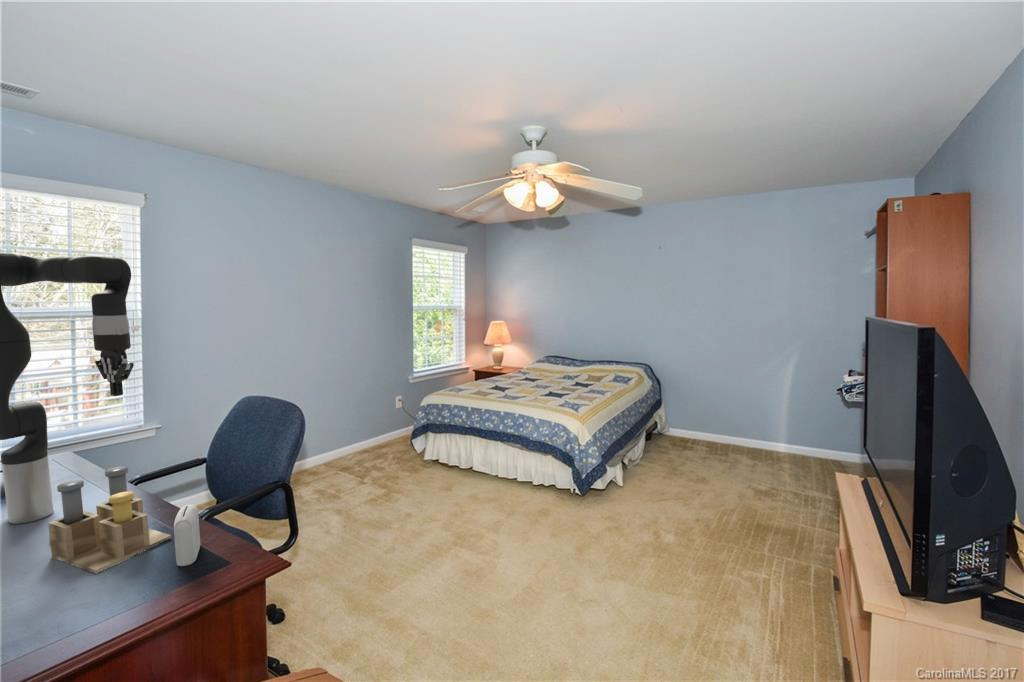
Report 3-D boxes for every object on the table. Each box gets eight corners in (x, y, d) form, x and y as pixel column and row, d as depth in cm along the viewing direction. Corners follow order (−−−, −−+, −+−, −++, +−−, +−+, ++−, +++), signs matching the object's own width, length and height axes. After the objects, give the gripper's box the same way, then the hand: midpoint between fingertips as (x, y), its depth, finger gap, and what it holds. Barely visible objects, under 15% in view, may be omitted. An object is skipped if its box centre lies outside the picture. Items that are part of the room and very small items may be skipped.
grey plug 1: (56, 525, 117) (52, 486, 116) (80, 516, 122) (76, 478, 121) (68, 529, 116) (64, 489, 114) (91, 520, 120) (87, 482, 119)
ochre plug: (107, 536, 118) (104, 497, 117) (129, 527, 123) (125, 490, 122) (119, 540, 117) (116, 501, 116) (141, 531, 121) (137, 493, 120)
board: (51, 557, 118) (48, 522, 117) (128, 525, 133) (125, 494, 132) (96, 574, 111) (92, 537, 110) (171, 538, 127) (168, 506, 126)
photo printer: (182, 547, 123) (179, 501, 121) (202, 543, 125) (199, 498, 123) (174, 568, 114) (170, 519, 112) (195, 564, 115) (192, 516, 114)
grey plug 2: (103, 507, 127) (100, 471, 125) (124, 500, 131) (121, 465, 130) (115, 511, 125) (111, 474, 124) (135, 503, 129) (132, 467, 128)
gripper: (79, 332, 127) (85, 395, 129) (110, 334, 122) (116, 400, 124) (112, 329, 134) (117, 390, 136) (142, 332, 129) (147, 394, 131)
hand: (117, 395), depth 130 cm, fingers closed
